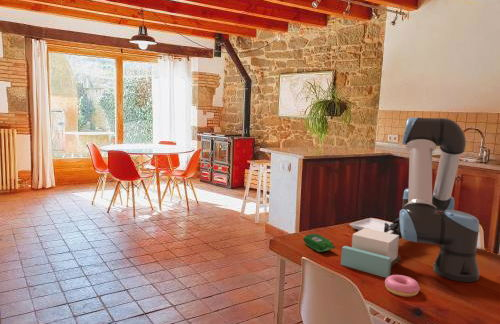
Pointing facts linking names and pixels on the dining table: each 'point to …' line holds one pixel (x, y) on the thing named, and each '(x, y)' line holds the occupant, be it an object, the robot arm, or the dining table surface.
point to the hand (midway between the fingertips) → (386, 236)
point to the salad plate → (370, 224)
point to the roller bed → (395, 261)
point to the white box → (376, 242)
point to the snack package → (318, 242)
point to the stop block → (366, 261)
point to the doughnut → (402, 285)
